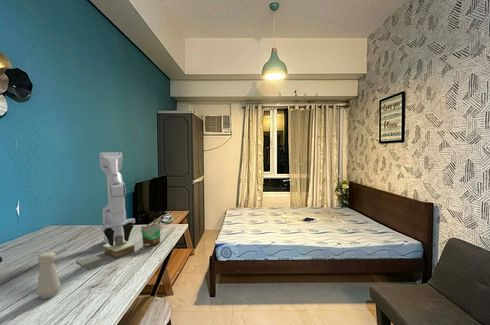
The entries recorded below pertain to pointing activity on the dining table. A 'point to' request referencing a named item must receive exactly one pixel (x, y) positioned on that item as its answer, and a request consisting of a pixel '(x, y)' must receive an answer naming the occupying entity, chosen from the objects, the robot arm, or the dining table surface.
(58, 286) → the salt shaker
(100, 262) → the mat
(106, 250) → the box
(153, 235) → the food container
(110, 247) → the lid
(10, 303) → the dining table surface
